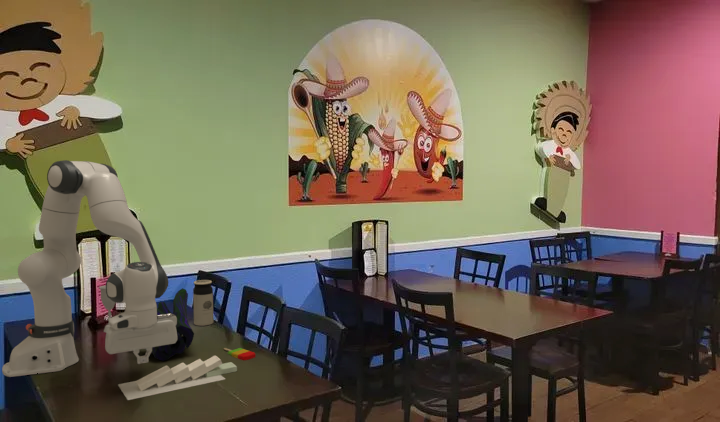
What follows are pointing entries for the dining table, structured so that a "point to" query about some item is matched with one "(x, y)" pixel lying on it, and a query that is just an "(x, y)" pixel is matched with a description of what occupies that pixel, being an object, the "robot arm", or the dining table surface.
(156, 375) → the domino
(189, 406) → the dining table surface
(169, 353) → the decorative plant
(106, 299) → the chalice
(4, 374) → the robot arm
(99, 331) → the dining table surface
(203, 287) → the travel mug
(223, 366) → the domino
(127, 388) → the mat
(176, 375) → the domino
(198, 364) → the domino
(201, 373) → the domino
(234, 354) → the popsicle
